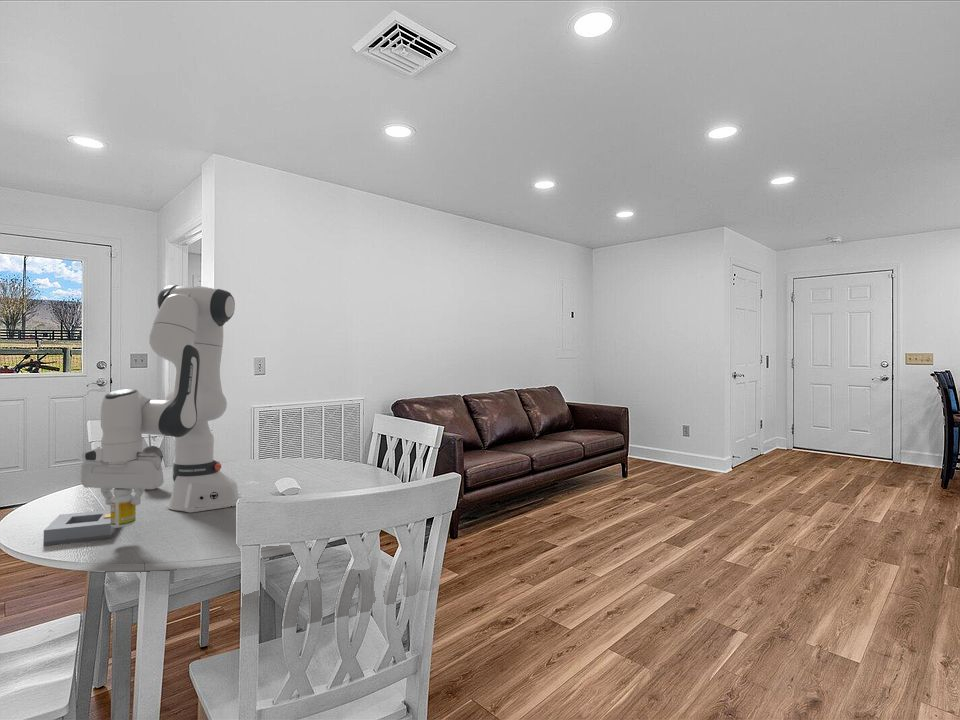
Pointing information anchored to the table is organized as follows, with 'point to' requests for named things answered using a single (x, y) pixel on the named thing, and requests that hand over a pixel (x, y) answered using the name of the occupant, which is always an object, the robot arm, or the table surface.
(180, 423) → the robot arm
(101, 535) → the dock
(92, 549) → the table surface
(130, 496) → the supplement bottle
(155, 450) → the beverage cup
